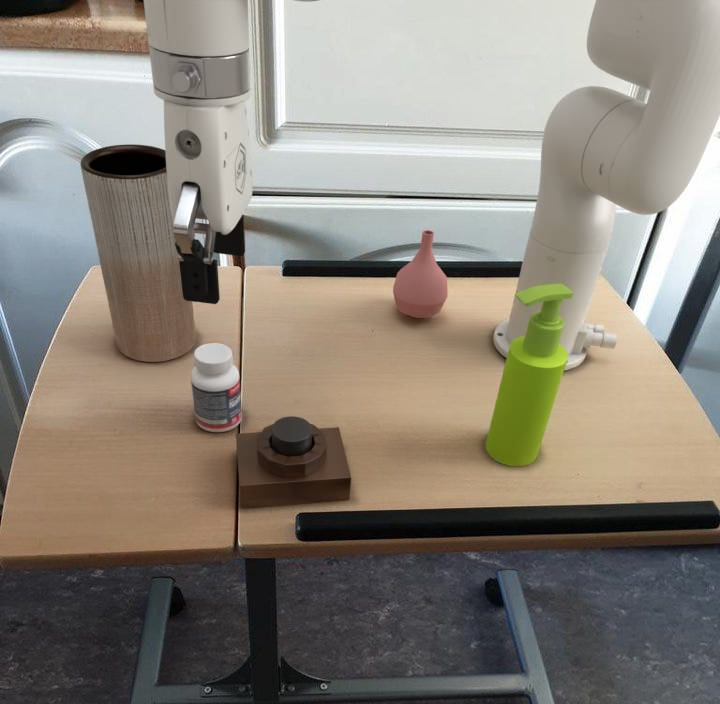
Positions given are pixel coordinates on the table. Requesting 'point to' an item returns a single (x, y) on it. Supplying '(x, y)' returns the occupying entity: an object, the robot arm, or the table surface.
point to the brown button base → (292, 470)
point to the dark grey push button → (291, 436)
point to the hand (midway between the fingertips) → (216, 275)
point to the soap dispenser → (529, 380)
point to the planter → (138, 251)
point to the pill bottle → (216, 388)
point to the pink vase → (421, 283)
